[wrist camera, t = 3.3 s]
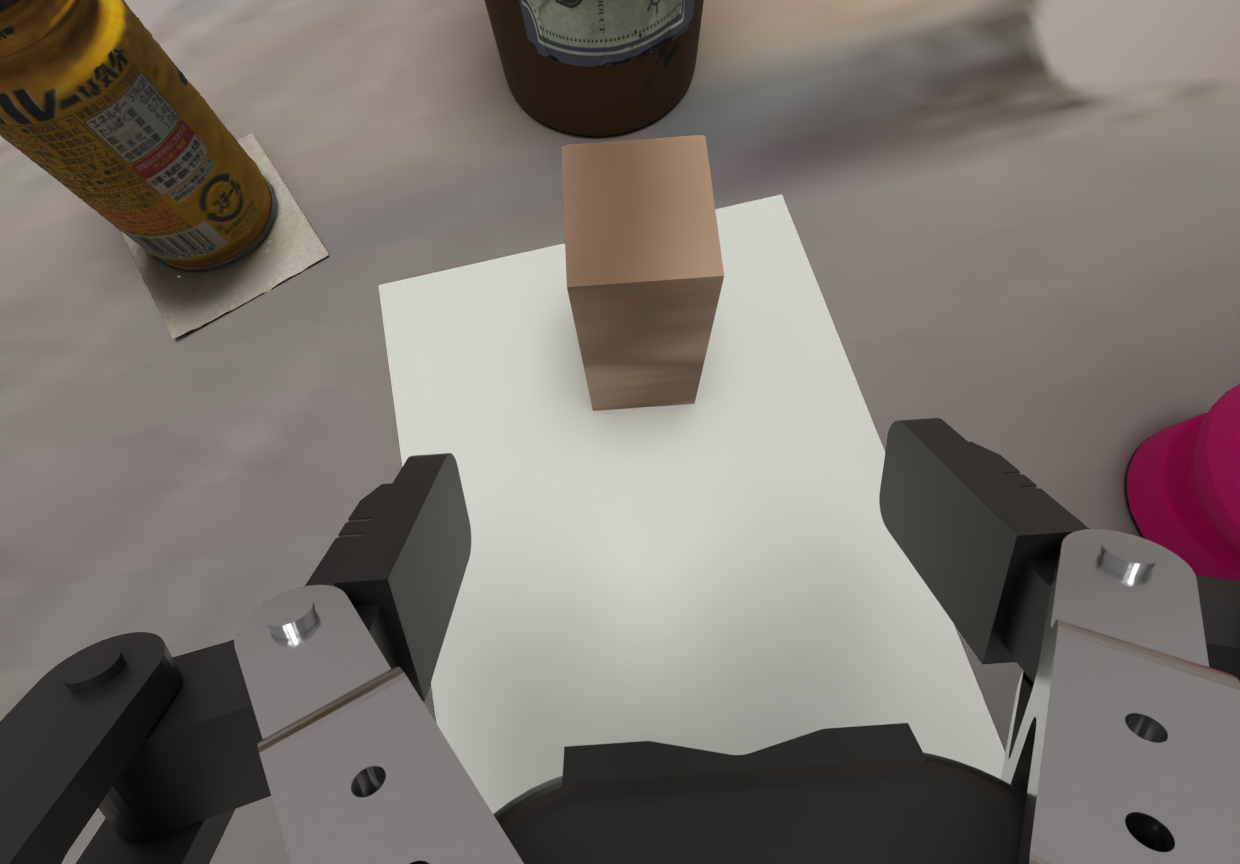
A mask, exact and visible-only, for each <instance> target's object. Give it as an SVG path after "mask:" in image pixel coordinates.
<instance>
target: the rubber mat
mask: <svg viewBox="0 0 1240 864" xmlns="http://www.w3.org/2000/svg"><path fill="white" fill-rule="evenodd" d="M715 211H716V219H717V226H718V233H719V241H720V248H721V255H722V263H723V270H724V279H723V283H722V288H721V292H720V296H719V301H718V305H717V309H716V314H715V318H714V322H713V326H712V331H711V335H710V339H709V344H708V348H707V352H706V357H705V361H704V365H703V370H702V374H701V378H700V382H699V387H698V391H697V395H696V400H695V404H684V405H670V406H656V407H641V408H627V409H613V410H599V411H593V409H592V404H591V399H590V394H589V390H588V385H587V380H586V375H585V371H584V366H583V361H582V357H581V352H580V347H579V342H578V338H577V333H576V328H575V323H574V319H573V314H572V309H571V304H570V300H569V295H568V290H567V278H566V254H565V243H564V244H560V245H555V246H551V247H547V248H542V249H538V250H533V251H529V252H524V253H520V254H515V255H511V256H507V257H502V258H498V259H493V260H489V261H484V262H480V263H475V264H471V265H467V266H462V267H458V268H453V269H449V270H444V271H440V272H435V273H431V274H427V275H422V276H418V277H413V278H409V279H404V280H400V281H396V282H391V283H387V284H382V285H378V286H379V293H380V301H381V308H382V316H383V323H384V331H385V338H386V346H387V354H388V361H389V369H390V376H391V384H392V391H393V399H394V406H395V414H396V422H397V429H398V437H399V444H400V452H401V459H402V467H403V465H404V463H405V462H406V460H407V459H408V457H410V456H415V455H429V454H442V453H452V454H453V456H454V457H455V459H456V462H457V466H458V470H459V475H460V479H461V484H462V489H463V493H464V498H465V502H466V507H467V512H468V516H469V521H470V527H471V553H470V557H469V561H468V564H467V567H466V570H465V574H464V577H463V580H462V583H461V587H460V590H459V593H458V596H457V599H456V603H455V606H454V609H453V612H452V616H451V619H450V622H449V625H448V628H447V632H446V635H445V638H444V641H443V645H442V648H441V651H440V654H439V657H438V661H437V664H436V667H435V670H434V674H433V677H432V680H431V686H432V694H433V701H434V709H435V716H436V724H437V725H438V727H439V729H440V730H441V732H442V733H443V735H444V737H445V738H446V740H447V741H448V743H449V745H450V746H451V748H452V749H453V751H454V753H455V754H456V756H457V757H458V759H459V761H460V762H461V764H462V765H463V767H464V769H465V770H466V772H467V773H468V775H469V777H470V778H471V780H472V781H473V783H474V785H475V786H476V788H477V789H478V791H479V793H480V794H481V796H482V797H483V799H484V801H485V802H486V804H487V805H488V807H489V808H490V810H491V812H492V813H493V814H494V813H495V812H497V811H498V810H499V809H500V808H502V807H503V806H504V805H506V804H507V803H508V802H510V801H511V800H513V799H514V798H516V797H518V796H519V795H521V794H523V793H524V792H526V791H528V790H529V789H531V788H533V787H536V786H538V785H540V784H542V783H544V782H546V781H548V780H551V779H554V778H557V777H560V776H563V761H564V747H566V746H581V745H595V744H610V743H624V742H639V741H653V742H658V743H664V744H670V745H676V746H682V747H688V748H694V749H700V750H706V751H712V752H718V753H724V754H730V755H745V754H749V753H752V752H755V751H758V750H761V749H764V748H767V747H770V746H773V745H776V744H779V743H782V742H785V741H788V740H791V739H794V738H797V737H800V736H803V735H806V734H809V733H812V732H815V731H818V730H821V729H826V728H841V727H855V726H869V725H884V724H898V723H908V724H909V726H910V728H911V730H912V732H913V734H914V736H915V738H916V740H917V741H918V743H919V745H920V747H921V749H922V751H923V752H924V753H929V754H934V755H937V756H941V757H945V758H949V759H952V760H956V761H958V762H961V763H964V764H967V765H969V766H972V767H975V768H977V769H980V770H982V771H984V772H986V773H988V774H991V775H993V776H995V777H997V778H999V779H1001V775H1002V769H1003V764H1004V758H1005V751H1004V748H1003V746H1002V743H1001V741H1000V738H999V736H998V733H997V731H996V728H995V726H994V723H993V721H992V718H991V716H990V713H989V711H988V708H987V706H986V703H985V701H984V698H983V696H982V693H981V691H980V688H979V686H978V683H977V681H976V678H975V676H974V673H973V671H972V668H971V666H970V663H969V661H968V658H967V656H966V653H965V651H964V648H963V646H962V643H961V641H960V638H959V636H958V633H957V631H956V628H955V626H954V623H953V622H952V620H951V619H950V618H949V616H948V615H947V613H946V612H945V610H944V609H943V608H942V606H941V605H940V603H939V602H938V601H937V599H936V598H935V596H934V595H933V593H932V592H931V591H930V589H929V588H928V586H927V585H926V584H925V582H924V581H923V579H922V578H921V576H920V575H919V574H918V572H917V571H916V569H915V568H914V567H913V565H912V564H911V562H910V561H909V560H908V558H907V557H906V555H905V554H904V552H903V551H902V550H901V548H900V547H899V545H898V544H897V543H896V541H895V540H894V538H893V537H892V535H891V534H890V533H889V531H888V530H887V528H886V527H885V524H884V522H883V519H882V516H881V512H880V504H879V495H880V487H881V480H882V473H883V466H884V459H885V451H884V449H883V446H882V444H881V441H880V439H879V436H878V434H877V431H876V429H875V426H874V424H873V421H872V419H871V416H870V414H869V411H868V409H867V406H866V404H865V401H864V399H863V396H862V394H861V391H860V389H859V386H858V384H857V381H856V379H855V376H854V374H853V371H852V369H851V366H850V364H849V361H848V359H847V356H846V354H845V351H844V349H843V346H842V344H841V341H840V339H839V336H838V334H837V331H836V329H835V326H834V324H833V321H832V319H831V316H830V314H829V311H828V309H827V306H826V304H825V301H824V299H823V296H822V294H821V291H820V289H819V286H818V284H817V281H816V279H815V276H814V274H813V271H812V269H811V266H810V264H809V261H808V259H807V256H806V254H805V251H804V249H803V246H802V244H801V241H800V239H799V236H798V234H797V231H796V229H795V226H794V224H793V221H792V219H791V216H790V214H789V211H788V209H787V206H786V204H785V201H784V199H783V196H782V195H778V196H773V197H769V198H764V199H760V200H755V201H751V202H746V203H742V204H738V205H733V206H729V207H724V208H720V209H715Z"/></svg>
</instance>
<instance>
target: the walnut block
mask: <svg viewBox="0 0 1240 864" xmlns="http://www.w3.org/2000/svg"><path fill="white" fill-rule="evenodd" d="M561 157H562V181H563V205H564V230H565V254H566V278H567V290H568V295H569V300H570V304H571V309H572V314H573V319H574V323H575V328H576V333H577V338H578V342H579V347H580V352H581V357H582V361H583V366H584V371H585V375H586V380H587V385H588V390H589V394H590V399H591V404H592V409H593V411H599V410H613V409H627V408H641V407H656V406H670V405H684V404H695V400H696V395H697V391H698V387H699V382H700V378H701V374H702V370H703V365H704V361H705V357H706V352H707V348H708V344H709V339H710V335H711V331H712V326H713V322H714V318H715V314H716V309H717V305H718V301H719V296H720V292H721V288H722V283H723V279H724V270H723V263H722V255H721V248H720V241H719V233H718V226H717V219H716V211H715V204H714V197H713V189H712V182H711V175H710V167H709V160H708V153H707V145H706V138H705V135H695V136H682V137H668V138H655V139H642V140H628V141H615V142H602V143H589V144H575V145H566V146H561Z"/></svg>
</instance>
